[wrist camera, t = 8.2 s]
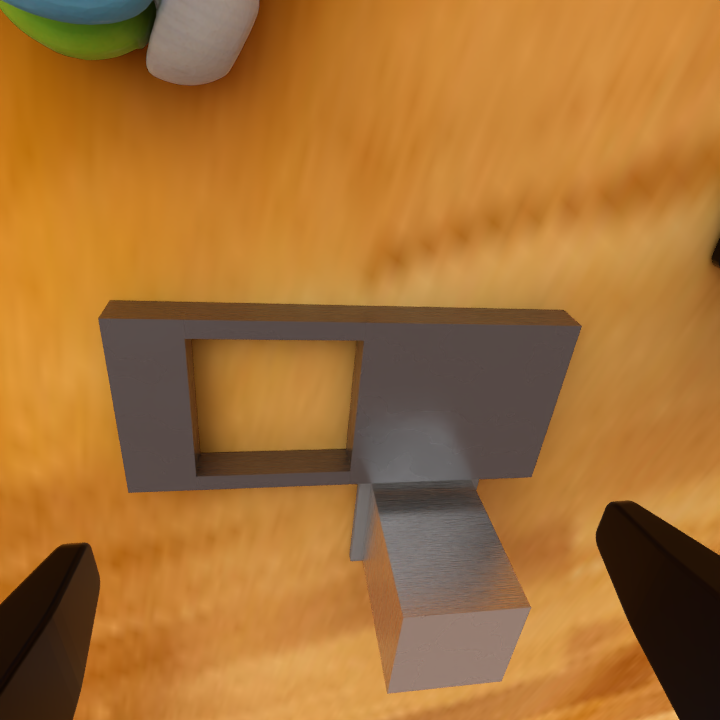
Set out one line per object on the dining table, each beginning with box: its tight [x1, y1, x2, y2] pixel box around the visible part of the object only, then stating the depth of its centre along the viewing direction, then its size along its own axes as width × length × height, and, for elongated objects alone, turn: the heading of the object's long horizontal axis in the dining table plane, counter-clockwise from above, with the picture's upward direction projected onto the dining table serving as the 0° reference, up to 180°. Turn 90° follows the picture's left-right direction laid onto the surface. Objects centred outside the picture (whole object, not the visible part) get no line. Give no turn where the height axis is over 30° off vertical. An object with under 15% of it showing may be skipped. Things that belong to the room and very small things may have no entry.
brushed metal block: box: [362, 480, 531, 694], centre depth 24 cm, size 5×5×7 cm
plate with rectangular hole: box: [98, 301, 582, 493], centre depth 22 cm, size 18×8×2 cm, turn 85°
